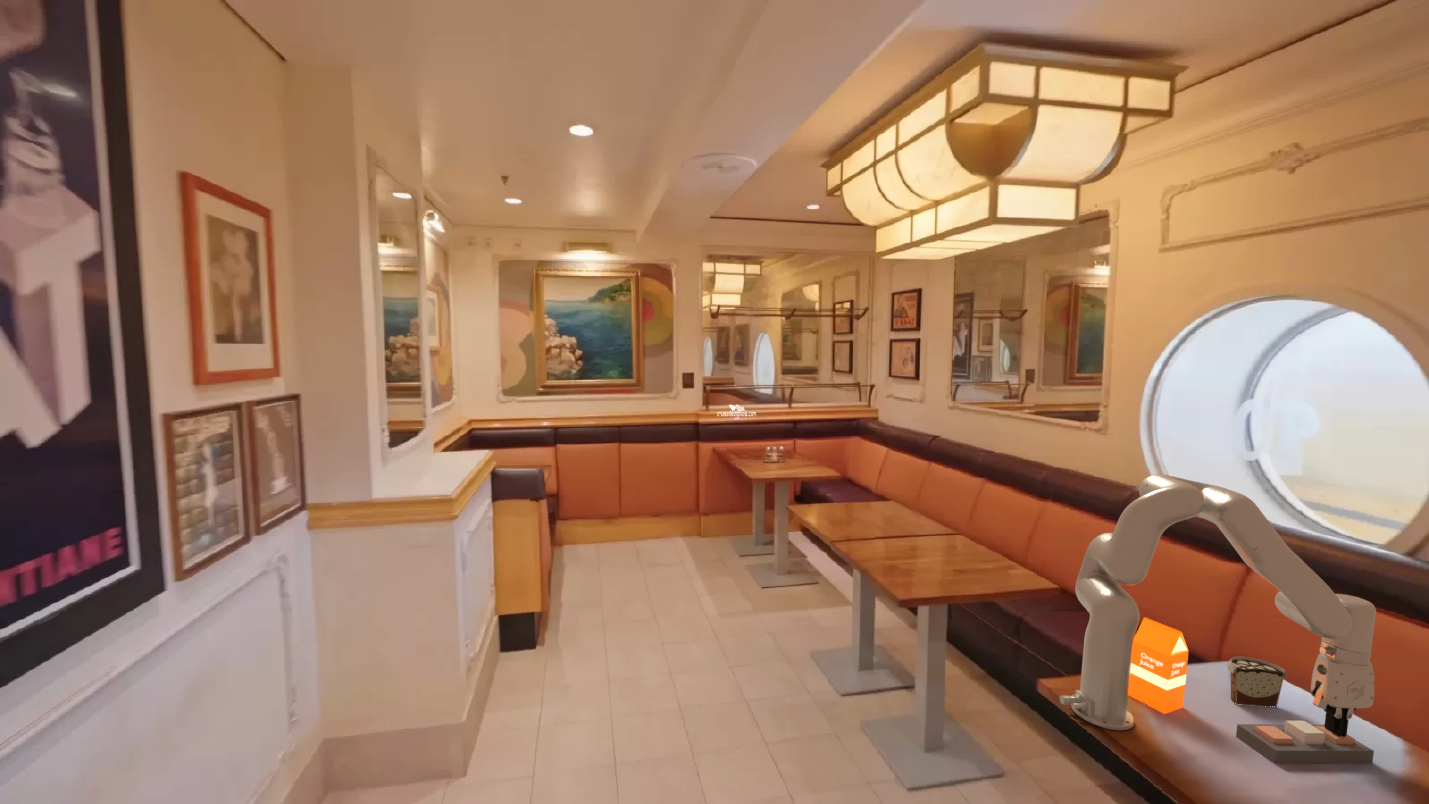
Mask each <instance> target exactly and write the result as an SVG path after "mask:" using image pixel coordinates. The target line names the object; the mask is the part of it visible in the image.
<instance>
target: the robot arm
mask: <svg viewBox="0 0 1429 804" xmlns="http://www.w3.org/2000/svg"><path fill="white" fill-rule="evenodd" d="M1138 494H1139V496H1140V497H1138V498H1137V499H1134V500H1133V501H1132V502H1130V503H1129V504H1128V505H1127V506H1126V507H1125V508H1124V510H1123V511H1122V513H1121V514H1120V515H1119V518H1118V521H1117V523H1116V525H1115V527H1114V530H1113V532H1104V533H1101V534H1099V535H1097V536H1096V537H1094V538H1093V539H1092V541H1091V542H1089V544H1088V546H1087V548H1086V551H1085V554H1084V557H1083V560H1082V563H1081V566H1080V569H1079V571H1078V575H1077V578H1076V582H1075V587H1074V591H1075V595H1076V598H1077V599H1078V601H1079V603H1080V604H1081V605H1082V606H1083V607H1084V608H1085V610H1086V611H1087V613H1089V620H1088V623H1087V625H1086V626H1087V627H1086V629H1085V633H1084V641H1083V652H1082V661H1081V662H1082V665H1081V672H1080V673H1081V675H1080V686H1079V689H1075V692H1074V694H1073V693H1072V695H1059V703H1060V704H1062V705H1070V707H1071V708H1072V710H1073V712H1074V713H1075V714H1076V715H1077V716H1078V717H1080V718H1081V719H1083V720H1084V721H1086V722H1088V723H1091V724H1092V725H1095V726H1098V727H1101V728H1103V729H1107V730H1111V731H1112V730H1114V731H1127V730H1129V729H1131V728H1133V727H1134V722H1135V719H1134V716H1133V715H1132V713H1131V712H1130V711H1129V710H1127V709H1128V701H1129V700H1128V698H1129V695H1128V691H1129V680H1130V670H1131V659H1132V658H1131V657H1132V648H1133V641H1134V637H1135V635H1136V633H1137V629H1138V626H1139V624H1140V618H1141V617H1140V610H1139V606H1138V605H1137V602H1136V601H1135V599H1134V598H1133V596H1131V595H1130V593H1128V592H1127V591H1126V590H1125V589H1124V588H1123V587H1122V586H1121V585H1126V586H1135V585H1138V584H1140V583H1142V582H1143V581H1144V580H1145V579H1146V577H1147V575H1148V573H1149V570H1150V567H1151V564H1152V560H1153V558H1154V555H1155V552H1156V549H1157V546H1158V543H1159V541H1160V539H1161V537H1162V535H1163V533H1164V532H1165V531H1166V530H1167V529H1168V528H1169V527H1170V526H1172V525H1174V524H1176V523H1178V522H1183V521H1185V520H1189V519H1191V518H1194V517H1195V518H1201V519H1204V520H1207V521H1209V522H1210V523H1213V524H1214V525H1215V526H1216V527H1217V528H1218V529H1219V531H1221V532H1222V534H1223V536H1224V537H1225V538H1226V539H1227V541H1228V542H1229V543H1230V545H1231V546H1232V547H1233V548H1234V550H1235V551H1236V553H1237V554H1238V555H1239V557H1240V558H1241V560H1242V561H1243V562H1244V563H1245V564H1246V565H1247V566H1248V568H1250V569H1251V570H1252V571H1254V573H1255V574H1257V575H1258V576H1260V577H1261V578H1262V579H1263V580H1265V581H1267V582H1268V583H1269V584H1270V585H1272V586H1273V587H1274V588H1276V589H1277V590H1278V592H1277V593H1276V594H1275V596H1274V604H1275V606H1276V608H1277V610H1278V611H1279V612H1280V614H1282V615H1284V616H1285V617H1286V618H1288V619H1290V620H1291V621H1292V622H1295V623H1296V624H1298V625H1299V626H1301V627H1304V628H1305V629H1306V630H1308V631H1310V632H1311V633H1312V634H1314V635H1316V636H1318V637H1320V638H1321V639H1320V646H1319V654H1318V655H1317V657H1316V660H1315V664H1314V667H1313V670H1312V675H1311V681H1310V694H1311V696H1312V697H1313V701H1312V704H1313V705H1314V706H1316V707H1317V708H1320V709H1323V711H1324V712H1325V717H1324V724H1323V725H1324V727H1325V729H1327V730H1329V731H1330V732H1332V733H1334V734H1335V735H1337V736H1347V735H1348V728H1349V720H1350V719H1352V717H1353V714H1354V712H1355V711H1356V710H1361V709H1368V708H1371V707H1372V706H1373V705H1374V700H1375V698H1374V697H1375V673H1374V668H1373V664H1372V662H1371V656H1372V648H1373V647H1372V646H1373V639H1374V632H1375V625H1376V615H1377V609H1376V607H1375V605H1374V604H1373V603H1372V602H1371V601H1368V600H1366V599H1364V598H1361V597H1359V596H1353V595H1349V594H1345V593H1344V594H1343V593H1335V592H1334V591H1333V590H1332V589H1331V587H1330V586H1329V585H1328V584H1327V583H1326V582H1325V580H1324V579H1322V578H1321V577H1320V576H1319V575H1318V574H1317V573H1316V572H1315V571H1314V570H1313V569H1312V568H1311V567H1310V566H1308V564H1306V562H1304V560H1303V559H1302V558H1301V557H1300V556H1298V554H1297V553H1295V552H1294V551H1293V550H1292V549H1291V548H1290V547H1289V546H1288V544H1287V543H1286V542H1285V540H1284V539H1283V538H1282V537H1281V536H1280V534H1279V533H1278V532H1277V530H1276V529H1275V527H1274V526H1273V525H1272V524H1271V522H1270V521H1269V520H1268V518H1267V517H1266V516H1265V515H1264V513H1263V512H1262V510H1261V509H1260V508H1259V506H1257V504H1256V503H1255V502H1254V501H1253V500H1252V499H1251V498H1249V497H1248V496H1246V495H1245V494H1243V493H1240V492H1238V491H1234V490H1231V489H1228V488H1225V487H1223V486H1219V485H1214V484H1209V483H1206V482H1205V483H1204V482H1199V481H1193V480H1190V479H1186V478H1181V477H1177V476H1172V475H1169V474H1165V473H1164V474H1163V473H1159V474H1158V473H1157V474H1152V475H1149V476H1147V477H1146V478H1144V479H1143V480H1142V482H1140V484H1139V489H1138Z"/></svg>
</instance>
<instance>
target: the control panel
mask: <svg viewBox="0 0 1429 804" xmlns="http://www.w3.org/2000/svg"><path fill="white" fill-rule="evenodd" d="M1311 725H1312V726H1314V727H1315V726H1324V725H1325V724H1311ZM1255 726H1275V727H1276V728H1278V729H1279V730H1281V731H1282V732H1284V729H1285V723H1284V724H1283V723H1282V724H1274V723H1273V724H1272V723H1271V724H1269V723H1268V724H1265V723H1263V724H1262V723H1261V724H1260V723H1256V724H1254V723H1252V724H1251V723H1250V724H1249V723H1244V724H1243V723H1242V724H1241V723H1238V724H1237V725H1236V733H1235V734H1236V735H1235V737H1236V738H1237V739H1239V740H1240V741H1242V742H1243V743H1244V744H1246V745H1247V746H1248V747H1250V748H1251V749H1253V750H1255V752H1257V753H1258V754H1260V755H1261V756H1263V757H1264V758H1266V760H1268V761H1270V762H1271V763H1273V764H1275V765H1278V764H1279V765H1297V764H1298V765H1313V764H1314V765H1373V761H1374V754H1375V753H1374V752H1375V750H1374V749H1372V748H1370V747H1368V746H1367V745H1365V744H1363V743H1361V742H1360V741H1358V740H1356V739H1355V741H1354V745H1335V744H1333V743H1332V742H1330V741H1328V740H1327V739H1325V738H1324V744H1323V745H1317V744H1303V743H1301V742H1300V741H1298V740H1297V739H1295V738H1294V737H1292V736H1290V735H1289V734H1287V733H1286V732H1284V733H1285V734H1287V735H1289V736H1290V737H1292V738H1293V744H1272V743H1271V742H1269V741H1268V740H1266V739H1265V738H1263V737H1262V736H1260V735H1259V734H1257V733H1256V732H1254V730H1255Z"/></svg>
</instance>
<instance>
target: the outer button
mask: <svg viewBox="0 0 1429 804" xmlns="http://www.w3.org/2000/svg"><path fill="white" fill-rule="evenodd" d="M1315 728H1317V729H1319V730H1320V731H1322V732H1324V733H1325V736H1324V738H1325V739H1327V740H1328V741H1330V742H1332V743H1333V744H1335V745H1354V741H1355V740H1356V738H1354V737H1353V736H1351V735H1349V734H1347V736H1337V735H1335V734H1334V733H1332V732H1330V731H1329V730H1327V729H1325V727H1324V726H1315Z"/></svg>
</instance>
